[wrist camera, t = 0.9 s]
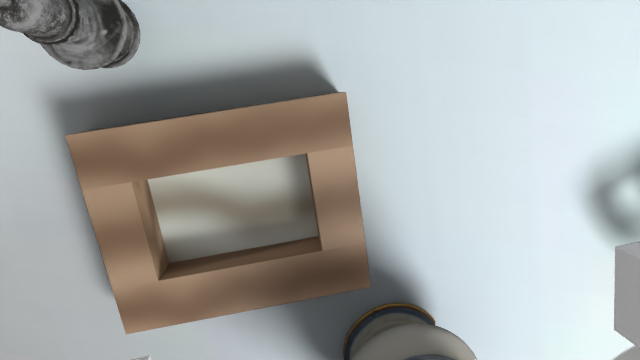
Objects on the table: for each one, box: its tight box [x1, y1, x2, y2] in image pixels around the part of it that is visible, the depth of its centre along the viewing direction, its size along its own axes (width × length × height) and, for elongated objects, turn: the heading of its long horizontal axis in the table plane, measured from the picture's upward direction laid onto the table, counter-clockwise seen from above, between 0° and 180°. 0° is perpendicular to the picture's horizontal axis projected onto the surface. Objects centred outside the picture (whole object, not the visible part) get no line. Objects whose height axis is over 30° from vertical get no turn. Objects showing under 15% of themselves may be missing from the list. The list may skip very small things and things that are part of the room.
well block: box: [65, 92, 371, 334], centre depth 31 cm, size 16×20×4 cm
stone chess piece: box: [0, 0, 140, 70], centre depth 23 cm, size 6×6×12 cm
